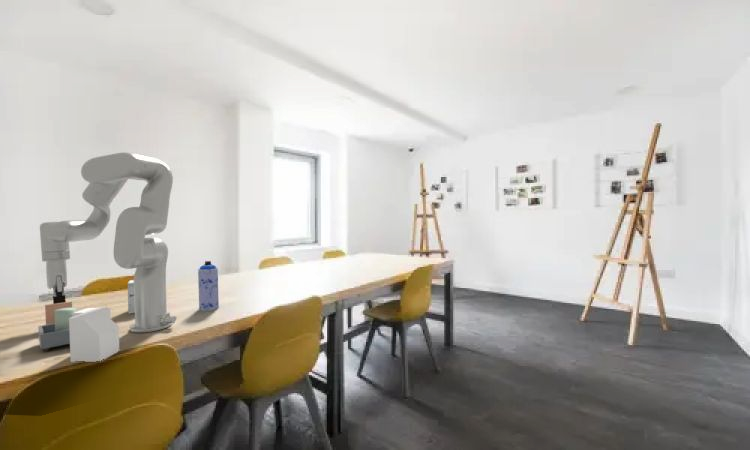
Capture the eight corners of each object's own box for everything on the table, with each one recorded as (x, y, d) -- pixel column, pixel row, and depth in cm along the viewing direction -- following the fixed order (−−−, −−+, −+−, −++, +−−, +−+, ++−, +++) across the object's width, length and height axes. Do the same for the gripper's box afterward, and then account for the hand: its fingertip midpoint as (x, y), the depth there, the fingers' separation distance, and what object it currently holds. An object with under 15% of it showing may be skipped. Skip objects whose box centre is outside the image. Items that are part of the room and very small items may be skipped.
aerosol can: (219, 305, 155) (218, 259, 154) (219, 309, 148) (218, 261, 147) (199, 307, 152) (197, 260, 151) (198, 311, 145) (196, 263, 144)
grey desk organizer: (92, 342, 110) (91, 314, 110) (41, 353, 102) (39, 323, 101) (80, 324, 129) (80, 300, 129) (36, 332, 121) (35, 306, 120)
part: (53, 338, 106) (53, 312, 106) (56, 334, 111) (56, 308, 111) (74, 336, 109) (74, 310, 109) (77, 331, 113) (77, 306, 113)
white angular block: (89, 347, 107) (87, 307, 107) (127, 346, 107) (125, 307, 107) (58, 362, 96) (56, 318, 96) (100, 361, 97) (98, 317, 96)
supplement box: (127, 314, 142) (126, 283, 141) (130, 309, 148) (129, 279, 148) (149, 311, 145) (148, 281, 145) (151, 307, 152) (150, 278, 151)
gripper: (40, 256, 130) (44, 305, 131) (43, 258, 120) (47, 312, 120) (67, 253, 136) (71, 301, 136) (72, 256, 125) (75, 307, 126)
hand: (59, 306), depth 128 cm, fingers closed
